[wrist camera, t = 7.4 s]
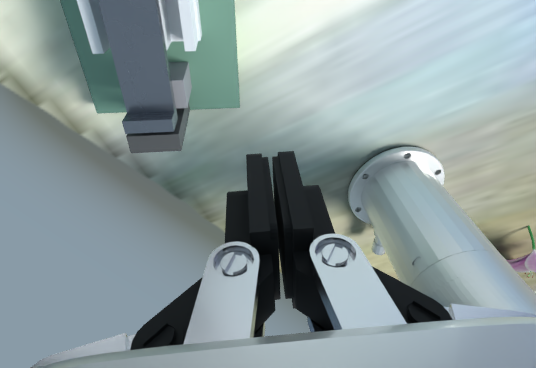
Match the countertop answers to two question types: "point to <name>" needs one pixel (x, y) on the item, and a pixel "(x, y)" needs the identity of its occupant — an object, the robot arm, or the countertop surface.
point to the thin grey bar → (141, 64)
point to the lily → (525, 260)
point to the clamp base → (179, 57)
